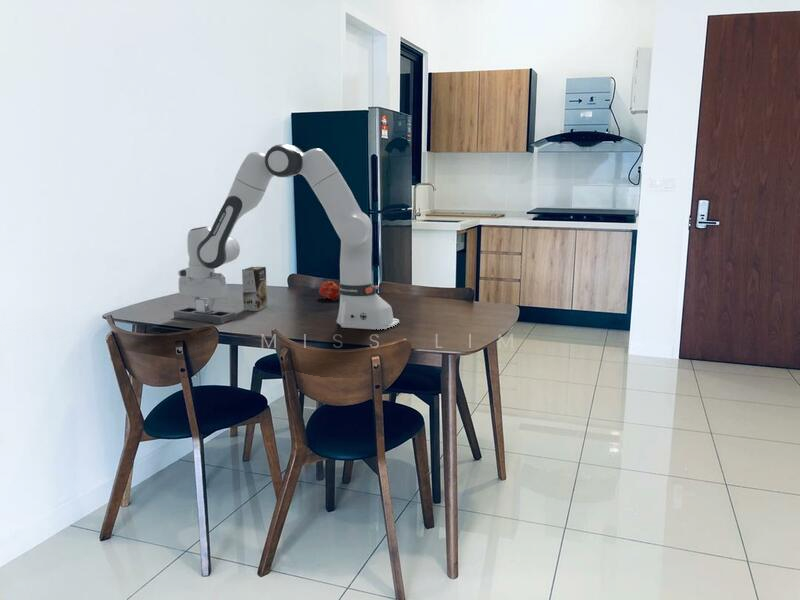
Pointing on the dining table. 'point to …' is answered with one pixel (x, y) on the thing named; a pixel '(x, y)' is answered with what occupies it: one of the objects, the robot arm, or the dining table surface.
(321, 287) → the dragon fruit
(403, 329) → the dining table surface
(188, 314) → the grey compartment tray
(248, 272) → the coffee box
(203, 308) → the nut block
